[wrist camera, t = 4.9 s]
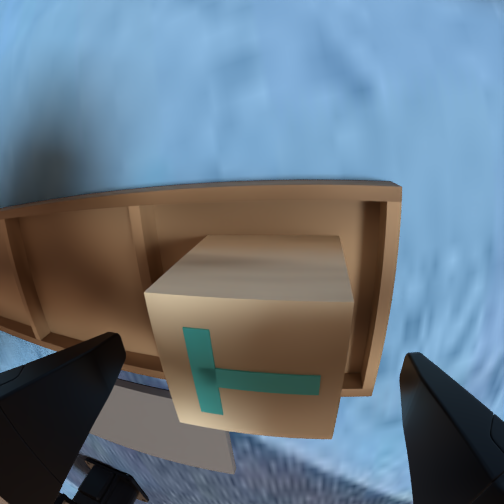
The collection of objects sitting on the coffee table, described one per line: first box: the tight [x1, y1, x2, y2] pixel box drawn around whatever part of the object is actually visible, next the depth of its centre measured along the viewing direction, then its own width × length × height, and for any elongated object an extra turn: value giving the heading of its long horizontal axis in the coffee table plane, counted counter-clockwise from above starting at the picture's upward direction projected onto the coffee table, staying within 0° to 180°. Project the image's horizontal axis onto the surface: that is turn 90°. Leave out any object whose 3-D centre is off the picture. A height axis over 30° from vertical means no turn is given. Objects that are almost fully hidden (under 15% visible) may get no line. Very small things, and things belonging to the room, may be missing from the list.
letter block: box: [144, 235, 354, 439], centre depth 10 cm, size 5×5×5 cm
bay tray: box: [0, 180, 402, 397], centre depth 14 cm, size 9×29×2 cm, turn 93°
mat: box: [89, 379, 236, 474], centre depth 18 cm, size 8×14×1 cm, turn 93°
